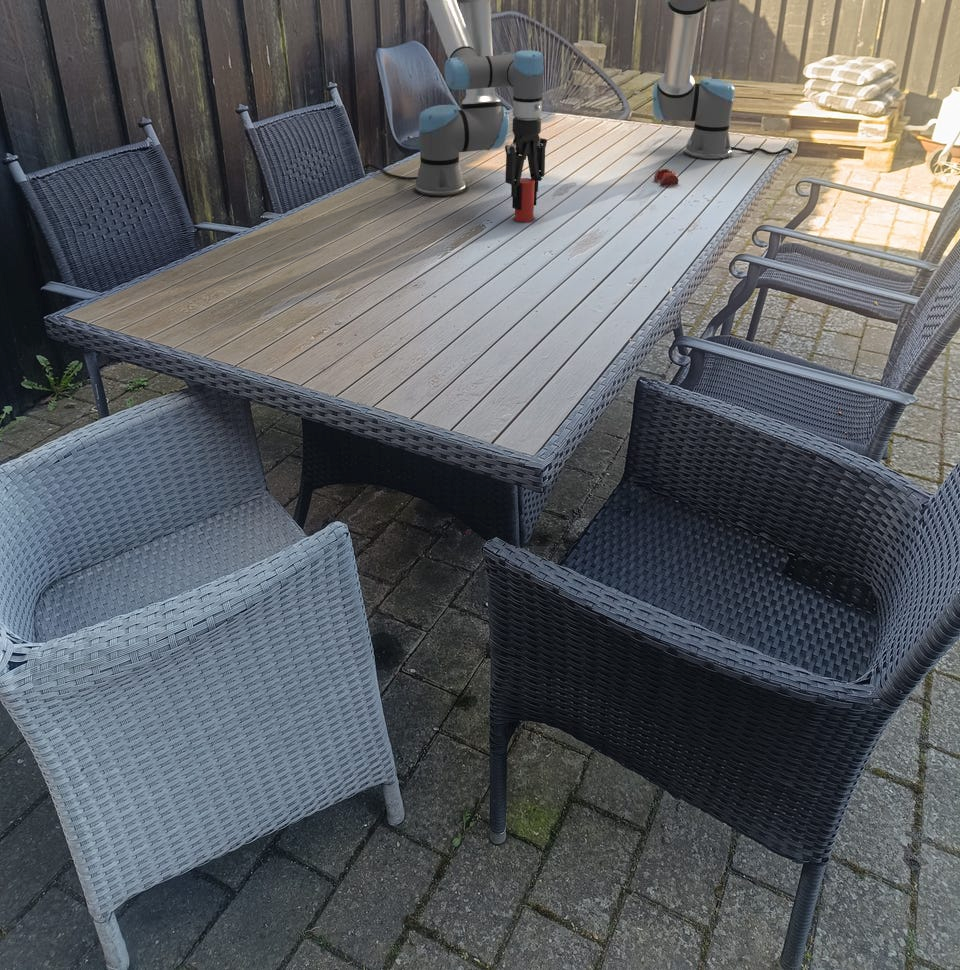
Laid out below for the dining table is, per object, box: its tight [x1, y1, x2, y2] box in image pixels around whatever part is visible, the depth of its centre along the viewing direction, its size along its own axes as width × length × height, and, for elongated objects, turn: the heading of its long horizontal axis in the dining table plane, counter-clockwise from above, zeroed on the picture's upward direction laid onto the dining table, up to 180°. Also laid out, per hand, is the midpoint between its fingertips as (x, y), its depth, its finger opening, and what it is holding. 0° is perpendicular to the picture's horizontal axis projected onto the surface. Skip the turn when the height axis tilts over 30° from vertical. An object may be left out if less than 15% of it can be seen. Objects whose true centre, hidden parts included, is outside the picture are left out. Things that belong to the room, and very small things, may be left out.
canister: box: [514, 177, 535, 223], centre depth 233 cm, size 5×5×11 cm
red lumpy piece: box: [653, 168, 679, 187], centre depth 263 cm, size 6×4×8 cm
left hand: (524, 206), depth 234 cm, fingers closed on canister, 5 cm apart
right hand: (680, 37), depth 298 cm, fingers open, 13 cm apart
